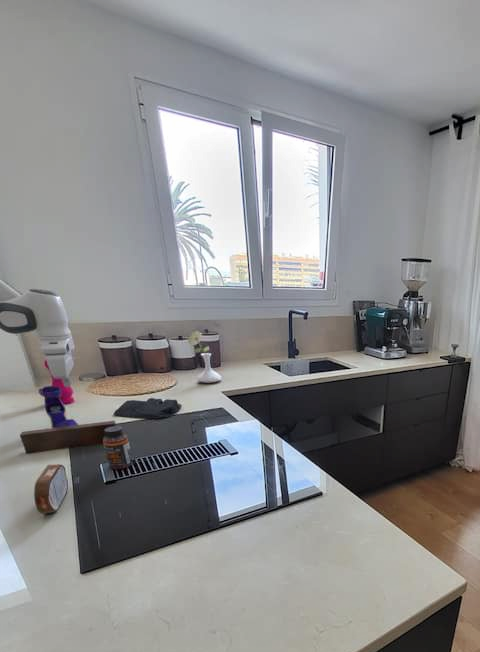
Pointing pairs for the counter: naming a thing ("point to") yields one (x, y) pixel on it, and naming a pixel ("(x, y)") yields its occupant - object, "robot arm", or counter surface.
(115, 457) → the supplement bottle
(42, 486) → the tin
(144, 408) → the dark grey glove
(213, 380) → the flower in vase
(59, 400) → the sandal
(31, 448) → the dark wooden plank
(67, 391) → the pepper mill
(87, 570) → the counter surface
